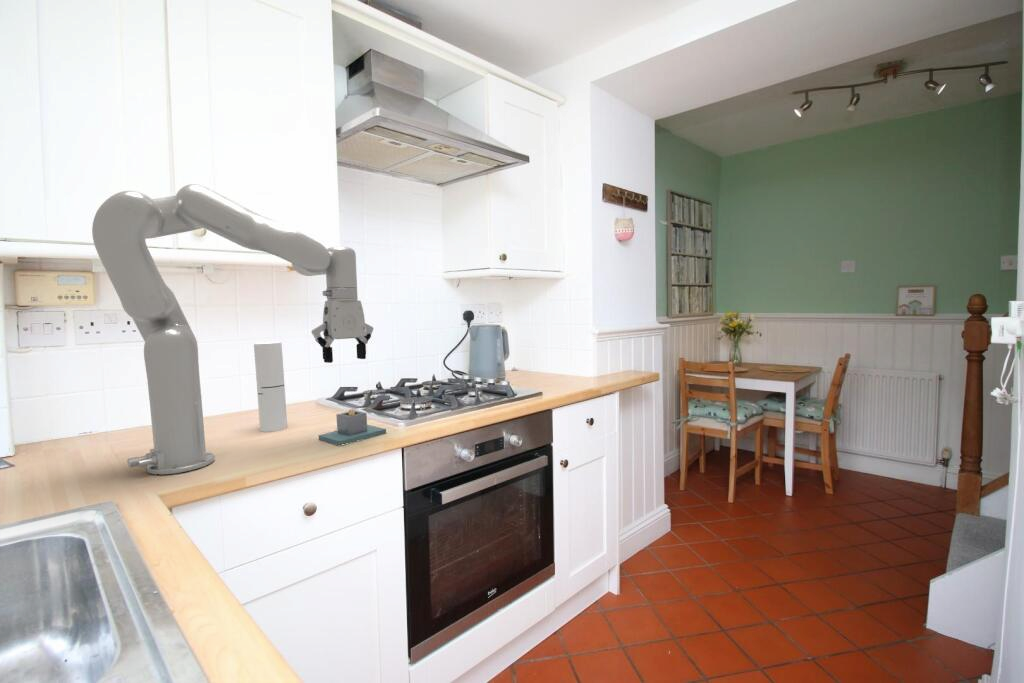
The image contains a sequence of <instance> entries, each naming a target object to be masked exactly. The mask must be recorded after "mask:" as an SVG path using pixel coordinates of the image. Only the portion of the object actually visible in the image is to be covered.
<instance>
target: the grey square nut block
mask: <svg viewBox="0 0 1024 683" xmlns="http://www.w3.org/2000/svg"><path fill="white" fill-rule="evenodd" d="M335 417H336V431H337V433H339V434H343V435H347V436H351V435H355V434H359V433H363V432H367V425H368V420H367V419H368V418H367V412H365V411H360V410H359V411H358V410H355V415H351V416H349V413H348V411H347V412H343V413H337V414H336V415H335Z"/></svg>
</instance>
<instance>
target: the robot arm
mask: <svg viewBox="0 0 1024 683" xmlns="http://www.w3.org/2000/svg"><path fill="white" fill-rule="evenodd" d="M91 228H92V229H91V233H92V241H93V244H94V248H95V250H96V253H97V255H98V257H99V260H100V261H101V263H102V265H103V267H104V269H105V271H106V274H107V276H108V278H109V280H110V282H111V284H112V286H113V288H114V290H115V292H116V294H117V297H118V299H119V301H120V304H121V307H122V308H123V310H124V311H125V313H126V314H127V316H129V317H130V318H132V320H133V322H134V324H135V326H136V328H137V329H138V331H139V333H140V335H141V337H142V340H143V341H144V344H143V358H144V366H145V371H146V379H147V389H148V391H147V392H148V400H149V409H150V421H151V429H152V430H151V431H152V440H153V448H150V449H149V452H148V453H145V454H144V455H141V456H135V457H132V458H131V457H130V458H128V459H127V466H128V468H134V467H139V468H141V467H146V472H147V471H148V472H147V473H148V474H150V473H151V474H152V475H157V474H159V476H160V475H172V474H179V473H185V472H190V471H194V470H198V469H200V468H201V469H202V468H204V467H206V466H208V465H210V464H212V463H213V462H214V461H215V454H213V453H212V452H209V451H207V449H206V436H205V426H204V414H203V413H204V412H203V402H202V391H201V390H202V389H201V380H200V379H201V378H200V366H199V347H198V341H197V338H196V336H195V334H194V331H193V330H192V327H191V326H190V324H189V322H188V320H187V317H186V316H185V314H184V312H183V310H182V308H181V306H180V303H179V302H178V300H177V298H176V296H175V293H174V292H173V290H172V289H171V288H170V287H169V286H168V285H167V284H166V282H165V281H164V279H163V277H162V275H161V273H160V271H159V269H158V267H157V265H156V263H155V261H154V258H153V256H152V254H151V252H150V250H149V248H148V246H147V242H146V240H148V239H155V238H160V237H165V236H171V235H176V234H177V235H178V234H183V233H187V232H192V231H196V230H200V229H205V230H206V231H209V232H212V233H214V234H216V235H217V236H219V237H222V238H224V239H226V240H228V241H230V242H232V243H235V244H236V245H238V246H241V247H242V248H245V249H248V250H252V251H258V252H263V253H266V254H269V255H272V256H275V257H277V258H280V259H282V260H284V261H286V262H288V263H291V266H292V268H293V270H294V271H295V272H296V273H298V274H299V275H301V276H306V277H314V276H321V275H323V276H324V275H325V282H326V288H325V289H326V290H323V291H322V296H323V297H326V300H325V302H324V306H323V314H322V324H320V325H318V326H317V327H316V328H314V329H312V330H311V335H312V336H313V338H314V339H315V342H316V343H318V344H319V346H320V347H321V348H322V349H321V350H322V359H323V362H324V363H325V364H326V363H327V364H330V363H333V362H334V358H333V356H334V355H333V347H332V346H331V345H332V343H333V342H335V340H348V339H355V341H356V342H357V343H356V359H357V360H359V359H360V360H366V358H367V344H368V342H369V340H370V339H371V337H372V334H373V331H374V327H373V326H371V325H369V324H367V323H366V319H365V314H364V308H363V304H362V301H361V300H358V298H359V297H358V280H357V279H358V278H357V277H358V276H357V274H358V273H357V255H356V252H355V250H354V248H351V247H348V246H331V247H328V248H326V247H325V246H324V244H322V243H321V242H319V241H317V240H316V239H313V238H311V237H309V236H308V235H306V234H305V233H302V232H300V231H298V230H296V229H294V228H291V227H290V226H287V225H284V224H282V223H280V222H277V221H274V220H273V219H271V218H268V217H266V216H263V215H261V214H259V213H258V212H257V213H256V212H254V211H253V210H250V209H249V208H246V207H245V206H242V205H241V204H239V203H237V202H236V201H234V200H232V199H230V198H228V197H226V196H224V195H222V194H220V193H218V192H217V191H214V190H212V189H210V188H209V187H207V186H203V185H200V184H196V183H191V184H186V185H184V186H182V187H181V188H180V189H179V190H178V191H177V193H176V195H172V196H170V195H169V196H165V197H159V198H151V197H150V196H148V195H147V194H144V193H143V192H140V191H135V190H123V191H120V192H116V193H114V194H112V195H111V196H110V197H108V198H107V199H105V200H104V202H102V203H101V205H100V206H99V207H98V209H97V210H96V212H95V215H94V216H93V221H92V227H91ZM321 333H323V337H322V335H321Z"/></svg>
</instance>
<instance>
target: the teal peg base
mask: <svg viewBox="0 0 1024 683" xmlns="http://www.w3.org/2000/svg"><path fill="white" fill-rule="evenodd" d="M355 411H356V410H355V409H354V408H353V409H351V408H350V409H348V410H347V412H348V413H349V416H351V415H355ZM381 434H382V435H385V434H387V428H383V427H378V426H374V425H371V424H367V432H363V433H359V434H355V435H351V436H347V435H343V434H339V433H337V430H334V431H330V432H328V433H321V434H319V435H318V440H319V441H321V442H324V441H325V443H328V442H329V444H331V443H332V445H335V444H336V445H335V446H338V445H342V444H345V445H347V444H346V443H349V444H351V443H350V442H353V441H356V442H358V441H357V440H360V441H362V440H361V439H364V440H367V439H370V437H371V438H374V437H377V436H378V437H379V436H382V435H381ZM373 436H374V437H373ZM366 438H367V439H366ZM353 443H354V442H353ZM342 446H343V445H342Z"/></svg>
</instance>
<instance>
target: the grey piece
mask: <svg viewBox="0 0 1024 683" xmlns="http://www.w3.org/2000/svg"><path fill="white" fill-rule="evenodd" d="M253 349H254V350H253V352H254V362H255V363H254V364H255V367H254V368H255V376H256V378H255V379H256V389H257V390H256V392H257V405H258V417H259V418H258V419H259V431H260V432H262V431H263V432H264V433H270V432H277V431H282V430H286V429H287V428H288V414H287V404H286V388H285V386H286V384H285V374H284V370H285V369H284V359H283V358H284V357H283V344H282V342H281V341H265V342H264V341H263V342H256V343H255V342H254V343H253Z"/></svg>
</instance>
